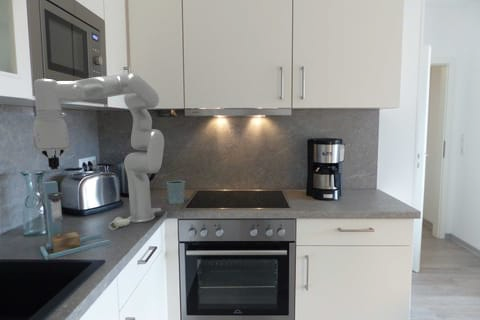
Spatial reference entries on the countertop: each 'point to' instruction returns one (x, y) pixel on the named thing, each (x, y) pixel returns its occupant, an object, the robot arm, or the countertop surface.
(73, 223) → the countertop surface
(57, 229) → the press
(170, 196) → the drinking glass
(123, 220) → the pipe fitting
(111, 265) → the countertop surface
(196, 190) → the countertop surface
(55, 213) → the ram
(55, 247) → the housing
